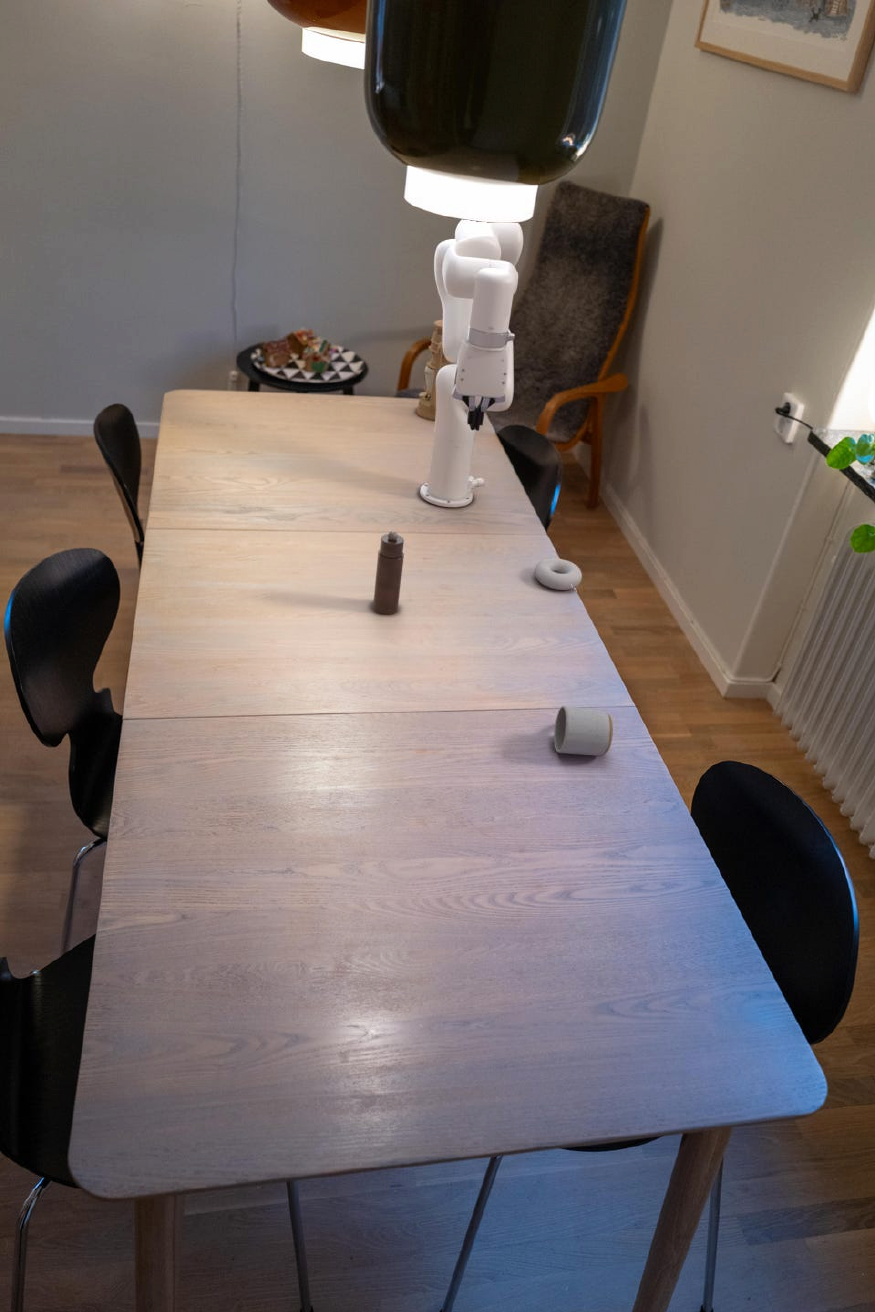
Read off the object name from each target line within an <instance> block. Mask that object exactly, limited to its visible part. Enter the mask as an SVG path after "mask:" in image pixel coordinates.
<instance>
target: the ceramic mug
mask: <svg viewBox="0 0 875 1312" xmlns="http://www.w3.org/2000/svg"><path fill="white" fill-rule="evenodd" d="M553 736H554V737H553V740H554V748H555V751H556V752H557V753H558V754H568V755H584V756H595V757H597V756H604V755H605V754H607V753H608V752H609V750H610V748H611V745H612V742H613V736H614V724H613V720H612V717H611V715H610V714H609V713H608V712H604V711H601V710H596V709H588V708H583V707H576V706H569V705H562V706H560V707H559V709H558V711H557V714H556V719H555V723H554V735H553Z"/></svg>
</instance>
